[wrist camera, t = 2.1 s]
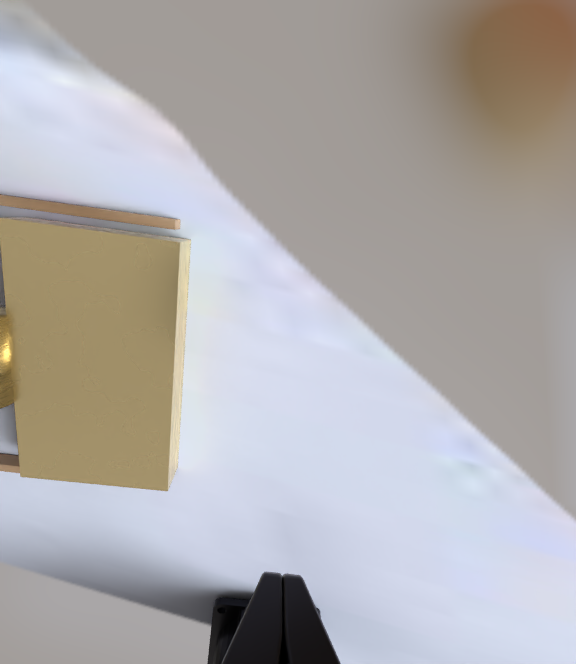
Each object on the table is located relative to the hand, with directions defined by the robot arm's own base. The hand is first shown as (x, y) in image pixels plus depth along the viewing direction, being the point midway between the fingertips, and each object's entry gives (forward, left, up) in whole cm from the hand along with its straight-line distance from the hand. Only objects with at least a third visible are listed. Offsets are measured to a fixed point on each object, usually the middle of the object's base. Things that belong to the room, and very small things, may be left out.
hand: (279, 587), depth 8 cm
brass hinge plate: (0, +10, -11) cm, 15 cm away
